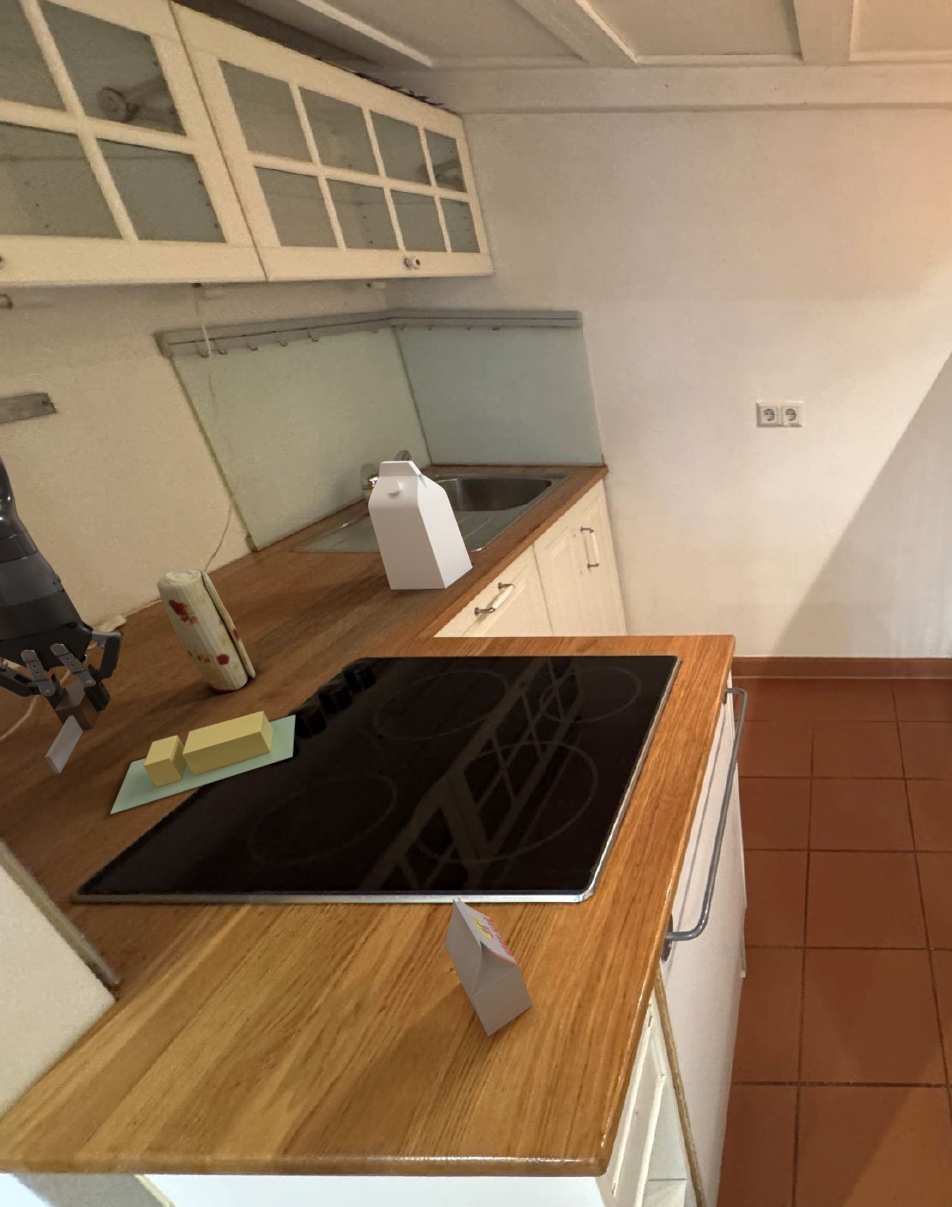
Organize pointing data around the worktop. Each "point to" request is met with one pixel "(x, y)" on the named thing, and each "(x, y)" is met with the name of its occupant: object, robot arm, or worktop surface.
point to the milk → (416, 529)
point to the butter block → (228, 742)
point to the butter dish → (143, 789)
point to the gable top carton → (485, 968)
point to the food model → (205, 629)
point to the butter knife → (71, 724)
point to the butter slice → (165, 761)
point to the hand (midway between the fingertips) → (88, 711)
